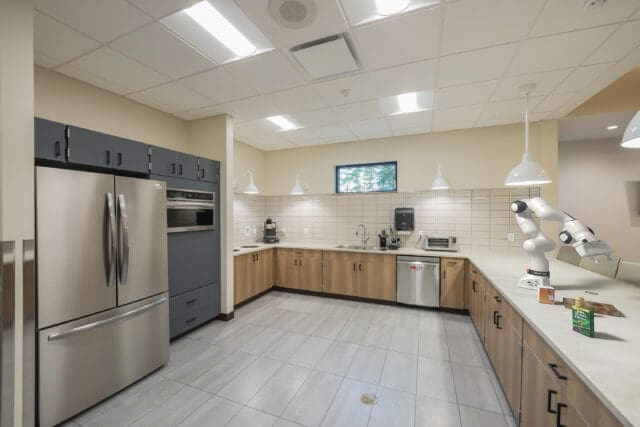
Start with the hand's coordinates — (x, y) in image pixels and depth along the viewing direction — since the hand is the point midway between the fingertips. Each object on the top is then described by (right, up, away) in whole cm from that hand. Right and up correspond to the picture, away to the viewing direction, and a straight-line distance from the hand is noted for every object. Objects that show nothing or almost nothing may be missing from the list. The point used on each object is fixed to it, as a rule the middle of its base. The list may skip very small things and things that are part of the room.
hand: (604, 261), depth 152 cm
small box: (-23, -30, +14) cm, 41 cm away
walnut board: (-7, -30, +2) cm, 31 cm away
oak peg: (-21, -30, -6) cm, 37 cm away
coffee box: (-42, -31, -27) cm, 59 cm away
